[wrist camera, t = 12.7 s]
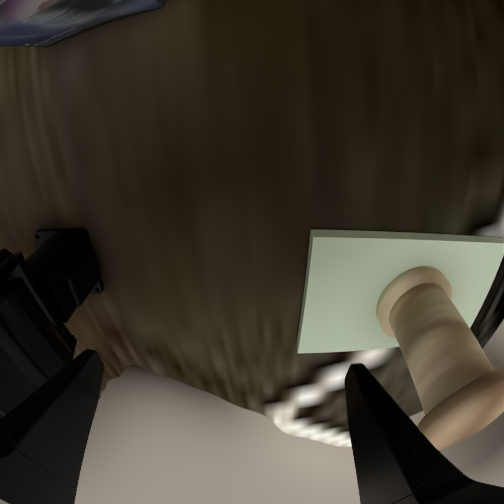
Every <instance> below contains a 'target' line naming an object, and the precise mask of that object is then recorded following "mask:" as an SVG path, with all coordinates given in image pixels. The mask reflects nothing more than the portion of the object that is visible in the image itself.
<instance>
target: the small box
mask: <svg viewBox="0 0 504 504" xmlns="http://www.w3.org/2000/svg"><path fill="white" fill-rule="evenodd" d="M164 6H165V0H0V47H1V46H32V47H48V46H50V45H52V44H54V43H56V42H58V41H61V40H63V39H65V38H67V37H70V36H72V35H74V34H77V33H79V32H82V31H84V30H87V29H90V28H92V27H95V26H98V25H101V24H104V23H107V22H110V21H113V20H116V19H119V18H122V17H126V16H129V15H133V14H137V13H141V12H144V11H149V10H153V9H157V8H162V7H164Z"/></svg>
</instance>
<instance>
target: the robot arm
mask: <svg viewBox="0 0 504 504" xmlns="http://www.w3.org/2000/svg"><path fill="white" fill-rule="evenodd" d="M81 234H82V235H83V236H82V235H81ZM38 235H39V236H38ZM34 238H35V241H36V244H37V247H38V249H37V250H35V251H34V252H33V253H32V254H31V255H30V256H29V257H28V258H27V259H26V260H25V261H24V259H23V258H24V257H23V255H22V253H21V251H20V252H17V253H15V254H12V252H9V251H8V250H7V249H5V248H4V249H2V250H0V504H74V502H75V496H76V491H77V485H78V480H79V475H80V470H81V466H82V461H83V457H84V453H85V449H86V445H87V440H88V436H89V433H90V429H91V425H92V421H93V418H94V415H95V411H96V408H97V404H98V399H99V394H100V389H101V383H102V378H103V374H104V364H103V362H102V360H101V358H100V356H99V354H98V353H97V351H95V350H90V349H86V350H85V351H83V352H82V353H81V354H80V355H78V356H77V357H76V358H75V359H73V356H74V352H75V347H76V343H77V340H76V338H75V337H74V336H73V335H72V334H71V333H70V332H69V330H68V329H67V328H66V326H65V325H64V323H63V322H65V323H66V322H67V321H68V320H69V318H70V317H71V315H72V314H73V312H74V311H75V309H76V308H77V307H80V306H81V305H82V303H83V302H84V300H85V299H86V297H87V296H88V294H89V293H90V294H101V293H102V292H103V290H104V287H103V284H102V281H101V278H100V275H99V272H98V268H97V265H96V262H95V259H94V255H93V252H92V249H91V245H90V241H89V237H88V234H87V231H86V230H85V229H82V228H76V229H50V230H37V231H36V232H35V233H34ZM345 393H346V407H347V421H348V427H349V433H350V438H351V444H352V450H353V456H354V462H355V468H356V474H357V481H358V488H359V495H360V502H361V504H504V487H499V486H494V485H490V484H485V483H481V482H477V481H474V480H472V479H470V478H469V477H467V476H466V475H464V474H463V473H462V472H461V471H460V470H459V469H458V468H457V467H455V466H454V465H453V464H452V463H451V462H450V461H449V460H448V459H447V458H446V457H444V456H443V455H442V454H441V453H440V452H439V451H438V450H437V449H436V448H435V447H434V445H433V444H432V443H431V442H430V441H429V440H428V439H427V438H426V436H425V435H424V434H423V433H422V432H421V431H420V430H419V428H418V427H417V426H416V425H415V424H414V423H413V421H412V420H411V419H410V418H409V417H408V415H407V414H406V413H405V412H404V411H403V410H402V408H401V407H400V406H399V405H398V404H397V403H396V401H395V400H394V399H393V398H392V397H391V396H390V394H389V393H388V392H387V391H386V390H385V389H384V387H383V386H382V385H381V384H380V383H379V382H378V380H377V379H376V378H375V377H374V376H373V375H372V373H371V372H370V371H369V370H368V369H367V368H366V367H365V365H364V364H362V363H356V364H351V365H350V367H349V369H348V372H347V374H346V377H345ZM420 432H421V433H420Z"/></svg>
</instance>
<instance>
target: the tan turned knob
mask: <svg viewBox="0 0 504 504" xmlns="http://www.w3.org/2000/svg"><path fill="white" fill-rule="evenodd" d="M451 299H452V287H451V284H450V283H449V281H448V280H447V278H446V277H445V276H444V275H443V273H442V272H441V271H440V270H438V269H437V268H435V267H431V266H420V267H415V268H412V269H410V270H407V271H405V272H404V273H402V274H400V275H399V276H397V277H396V278H395V279H394V280H393V281H392V282H391V283H390V284H389V285H388V286H387V287H386V288H385V289H384V291H383V292H382V294H381V296H380V298H379V300H378V303H377V308H376V314H377V318H378V320H379V323H380V325H381V328H382V330H383V331H384V333H385V334H386V335H388V336H389V337H392V338H396V339H397V342H398V344H399V346H400V349H401V351H402V354H403V356H404V359H405V361H406V364H407V366H408V369H409V371H410V374H411V376H412V379H413V382H414V384H415V387H416V390H417V393H418V395H419V398H420V401H421V404H422V407H423V410H424V413H425V416H424V417H423V419H422V420H421V421H420V423H419V424H418V428H419V430H420V431H421V432H422V433H423V434H424V435H425V436H426V438H427V439H428V440H429V441H430V442H431V443H432V444H433V445H434V447H435V448H436V449H437V450H440V449H443V448H446V447H449V446H451V445H454V444H456V443H458V442H460V441H462V440H464V439H466V438H468V437H470V436H471V435H473V434H475V433H476V432H478V431H479V430H481V429H482V428H484V427H485V426H487V425H488V424H489V423H491V422H492V421H493V420H495V419H496V418H497V417H498V416H499V415H500V414H501V413H503V412H504V369H499V370H495V371H494V369H493V368H492V365H491V364H490V362H489V360H488V358H487V357H486V355H485V354H484V351H483V350H482V348H481V346H480V344H479V343H478V341H477V339H476V338H475V336H474V335H473V333H472V331H471V330H470V328H469V327H468V325H467V323H466V322H465V320H464V319H463V317H462V316H461V314H460V313H459V311H458V310H457V308H456V307H455V305H454V304H453V302H452V301H451ZM421 432H420V433H421Z"/></svg>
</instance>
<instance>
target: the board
mask: <svg viewBox="0 0 504 504" xmlns="http://www.w3.org/2000/svg"><path fill="white" fill-rule="evenodd" d="M503 255H504V240H503V239H502V238H498V237H483V236H467V235H449V234H430V233H408V232H383V231H354V230H316V229H311V231H310V242H309V251H308V261H307V270H306V278H305V287H304V295H303V303H302V310H301V318H300V325H299V332H298V338H297V352H298V353H323V352H342V351H357V350H370V349H381V348H391V347H400V346H399V344H398V342H397V339H396V338H392V337H389V336H388V335H386V334H385V333H384V331H383V330H382V328H381V325H380V323H379V320H378V318H377V314H376V308H377V303H378V300H379V298H380V296H381V294H382V292H383V291H384V289H385V288H386V287H387V286H388V285H389V284H390V283H391V282H392V281H393V280H394V279H395V278H396V277H397V276H399V275H400V274H402V273H404V272H405V271H407V270H410V269H412V268H415V267H420V266H431V267H435V268H437V269H438V270H440V271H441V272H442V273H443V275H444V276H445V277H446V278H447V280H448V281H449V283H450V284H451V287H452V299H451V301H452V302H453V304H454V305H455V307H456V308H457V310H458V311H459V313H460V314H461V316H462V317H463V319H464V320H465V322H466V323H467V325H468V327H469V328H470V327H471V325H472V324H473V322H474V320H475V318H476V316H477V314H478V312H479V310H480V308H481V306H482V304H483V302H484V300H485V298H486V296H487V294H488V291H489V289H490V287H491V285H492V282H493V280H494V278H495V275H496V273H497V270H498V268H499V265H500V263H501V260H502V258H503Z"/></svg>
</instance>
